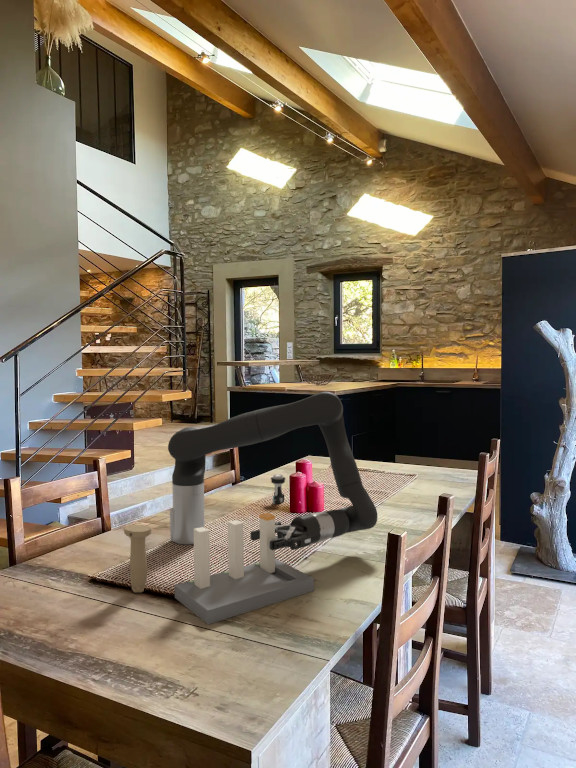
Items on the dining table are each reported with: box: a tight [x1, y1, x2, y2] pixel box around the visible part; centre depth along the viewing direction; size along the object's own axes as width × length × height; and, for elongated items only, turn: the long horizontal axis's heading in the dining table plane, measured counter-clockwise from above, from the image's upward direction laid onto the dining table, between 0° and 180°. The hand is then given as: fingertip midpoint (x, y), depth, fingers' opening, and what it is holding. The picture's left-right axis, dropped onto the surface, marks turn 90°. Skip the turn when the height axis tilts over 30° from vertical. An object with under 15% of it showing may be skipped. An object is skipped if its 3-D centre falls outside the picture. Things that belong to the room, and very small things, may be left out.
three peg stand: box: [174, 519, 315, 625], centre depth 135 cm, size 28×16×16 cm, turn 126°
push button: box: [270, 473, 286, 505], centre depth 213 cm, size 7×5×10 cm
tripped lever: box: [259, 512, 276, 573], centre depth 144 cm, size 2×3×14 cm
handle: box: [123, 524, 152, 593], centre depth 137 cm, size 5×6×15 cm
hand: (260, 540), depth 143 cm, fingers open, 8 cm apart
